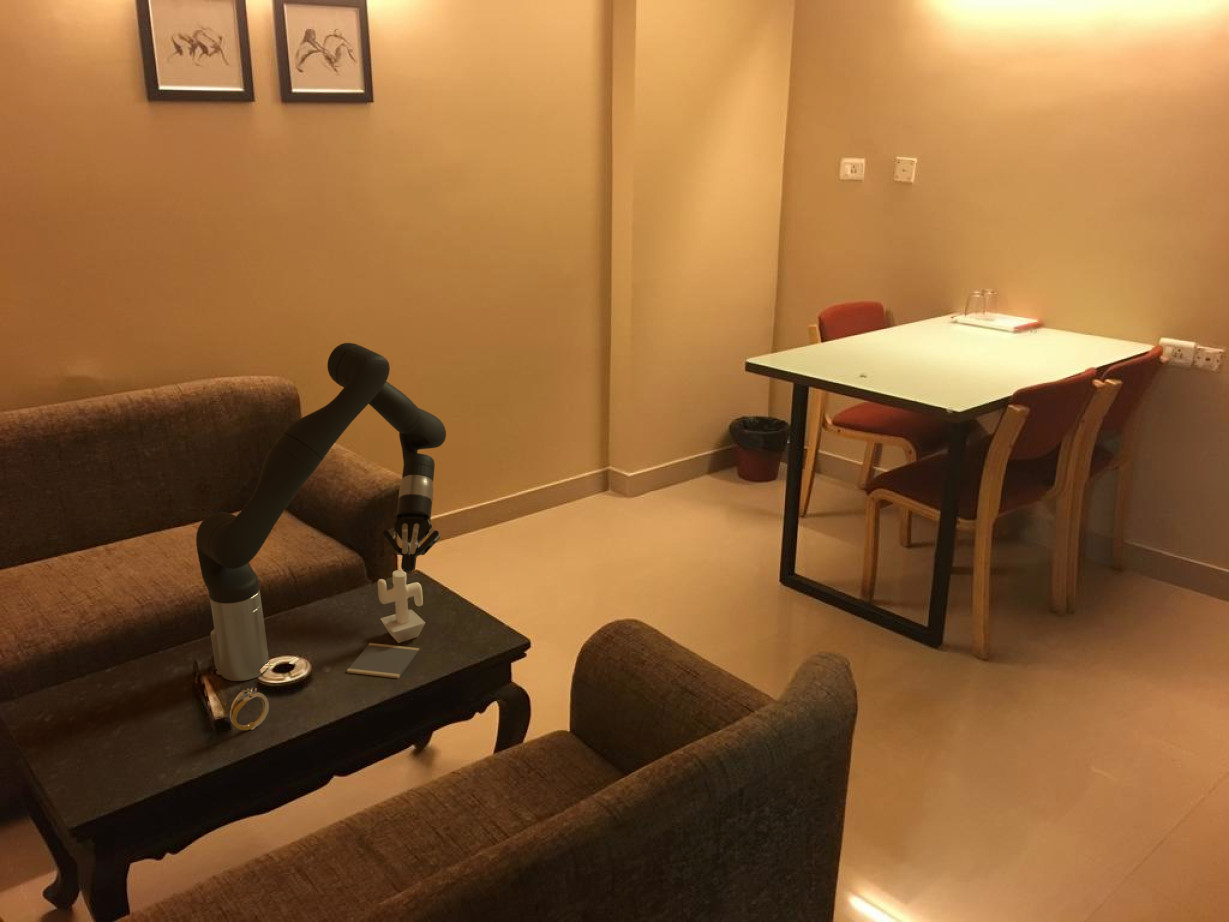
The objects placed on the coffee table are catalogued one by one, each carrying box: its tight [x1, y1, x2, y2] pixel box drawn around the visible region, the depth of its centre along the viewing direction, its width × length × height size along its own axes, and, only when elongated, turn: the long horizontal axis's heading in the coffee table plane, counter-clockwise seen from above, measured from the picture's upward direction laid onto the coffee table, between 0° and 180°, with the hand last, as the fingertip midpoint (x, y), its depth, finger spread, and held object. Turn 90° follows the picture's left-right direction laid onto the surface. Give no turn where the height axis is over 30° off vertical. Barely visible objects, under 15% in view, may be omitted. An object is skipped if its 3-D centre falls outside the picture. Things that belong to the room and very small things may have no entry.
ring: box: [229, 687, 270, 731], centre depth 177 cm, size 7×3×8 cm, turn 132°
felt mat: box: [346, 642, 420, 679], centre depth 200 cm, size 11×11×1 cm
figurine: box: [377, 569, 426, 644], centre depth 207 cm, size 7×9×15 cm
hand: (407, 572), depth 213 cm, fingers closed
